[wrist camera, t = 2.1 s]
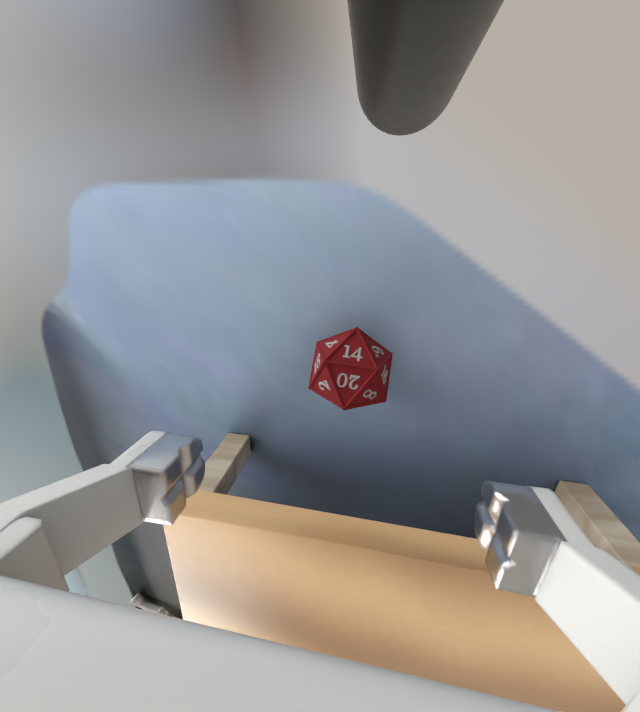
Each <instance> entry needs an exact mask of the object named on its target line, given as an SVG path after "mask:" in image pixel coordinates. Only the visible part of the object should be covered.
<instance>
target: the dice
mask: <svg viewBox="0 0 640 712" xmlns="http://www.w3.org/2000/svg"><path fill="white" fill-rule="evenodd" d="M391 361H392V353H391V352H389V351H388V350H387V349H385V348H384V347H383V346H381V345H380V344H379V343H377V342H376V341H375V340H373V339H372V338H371V337H369V336H368V335H367V334H365V333H364V332H363V331H361V330H360V329H359V328H358V327H356V328H354V329H351V330H349V331H346V332H343V333H340V334H338V335H335V336H332V337H330V338H327V339H324V340H322V341H319V342H317V344H316V350H315V355H314V361H313V366H312V372H311V377H310V383H309V387H308V388H309V389H310V390H312V391H314V392H315V393H317V394H319V395H320V396H322V397H324V398H325V399H327V400H329V401H330V402H332V403H333V404H335V405H337V406H338V407H340V408H342V409H343V410H347V409H352V408H357V407H362V406H367V405H372V404H377V403H382V402H386V398H387V390H388V383H389V375H390V368H391Z"/></svg>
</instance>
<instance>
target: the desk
mask: <svg viewBox="0 0 640 712" xmlns="http://www.w3.org/2000/svg"><path fill="white" fill-rule="evenodd" d="M250 453H251V452H250V436H249V435H242V434H235V433H228V434H227V436H226V437H225V438H224V439H223V441H222V442H221V443H220V445H219V446H218V447H217V449H216V450H215V451H214V453H213V454H212V455H211V457H210V458H209V459H208V461H207V462H206V463H205V474H204V478H203V481H202V483H201V486H200V487H199V489H198V490H197V492H196V493H195V494H193V495H192V496H190V497H188V498H186V507H185V508H184V510H183V511H182V512H181V514H180V515H179V516H178V518H177V519H176V521H175V522H174V523H173V525H166V524H163V526H164V531H165V536H166V540H167V545H168V550H169V555H170V559H171V564H172V569H173V573H174V578H175V583H176V588H177V592H178V597H179V602H180V606H181V611H182V616H183V620H187V621H191V622H195V623H199V624H203V625H207V626H212V627H216V628H220V629H224V630H228V631H232V632H237V633H241V634H245V635H249V636H253V637H257V638H261V639H266V640H270V641H274V642H278V643H282V644H286V645H290V646H295V647H299V648H303V649H307V650H311V651H315V652H320V653H324V654H328V655H332V656H336V657H340V658H344V659H348V660H352V661H357V662H361V663H365V664H369V665H373V666H377V667H381V668H385V669H390V670H394V671H398V672H402V673H406V674H410V675H414V676H418V677H423V678H427V679H431V680H435V681H439V682H443V683H447V684H451V685H455V686H460V687H464V688H468V689H472V690H476V691H480V692H484V693H488V694H493V695H497V696H501V697H505V698H509V699H513V700H517V701H521V702H526V703H530V704H534V705H538V706H542V707H546V708H550V709H554V710H559V711H563V712H621V711H622V710H623V708H624V707H625V706H626V705H625V704H624V702H623V701H622V700H621V699H620V698H619V697H618V696H617V694H616V693H615V692H614V691H613V690H612V689H611V687H610V686H609V685H608V684H607V683H606V682H605V681H604V679H603V678H602V677H601V676H600V675H599V674H598V672H597V671H596V670H595V669H594V668H593V667H592V666H591V664H590V663H589V662H588V661H587V660H586V659H585V657H584V656H583V655H582V654H581V653H580V652H579V650H578V649H577V648H576V647H575V646H574V645H573V644H572V642H571V641H570V640H569V639H568V638H567V637H566V635H565V634H564V633H563V632H562V631H561V630H560V629H559V627H558V626H557V625H556V624H555V623H554V622H553V620H552V619H551V618H550V617H549V616H548V615H547V614H546V612H545V611H544V610H543V609H542V608H541V607H540V605H539V604H538V603H537V602H536V601H535V600H534V599H535V598H534V597H530V596H526V595H521V594H517V593H512V592H508V591H503V590H499V589H495V587H494V585H493V582H492V579H491V576H490V574H489V571H488V568H487V565H486V563H485V558H486V555H487V551H486V550H485V549H484V548H483V547H482V546H481V545H480V544H479V543H478V540H477V539H475V538H469V537H464V536H458V535H452V534H447V533H441V532H435V531H430V530H424V529H418V528H413V527H407V526H401V525H396V524H390V523H384V522H379V521H373V520H367V519H362V518H356V517H350V516H345V515H339V514H333V513H328V512H322V511H316V510H311V509H305V508H299V507H294V506H288V505H282V504H277V503H271V502H265V501H260V500H254V499H248V498H243V497H237V496H231V495H227V493H228V491H229V490H230V488H231V486H232V484H233V483H234V481H235V479H236V478H237V476H238V474H239V472H240V471H241V469H242V467H243V466H244V464H245V462H246V460H247V459H248V457H249V455H250ZM554 493H555V494H556V495H557V497H558V498H559V499H560V501H561V502H562V503H563V505H564V506H565V507H566V509H567V510H568V511H569V513H570V514H571V515H572V517H573V518H574V519H575V521H576V522H577V523H578V525H579V526H580V527H581V529H582V530H583V531H584V533H585V534H586V535H587V537H588V538H589V539H590V541H591V542H592V543H593V545H594V546H595V547H598V548H603V549H604V550H606V551H607V552H609V553H610V554H612V555H613V556H614V557H616V558H617V559H619V560H620V561H621V562H623V563H624V564H626V565H627V566H629V567H630V568H631V569H633V570H634V571H636V572H637V573H638V574H640V542H639V541H638V540H637V539H636V538H635V537H634V536H633V534H632V533H631V532H630V531H629V530H628V529H627V528H626V527H625V525H624V524H623V523H622V522H621V521H620V520H619V519H618V517H617V516H616V515H615V514H614V513H613V512H612V511H611V510H610V508H609V507H608V506H607V505H606V504H605V503H604V502H603V500H602V499H601V498H600V497H599V496H598V495H597V494H596V493H595V491H594V490H593V489H592V488H591V487H590V486H589V485H588V484H582V483H575V482H568V481H561V480H560V481H559V483H558V485H557V488H556V490H555V492H554Z"/></svg>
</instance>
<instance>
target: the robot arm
mask: <svg viewBox="0 0 640 712" xmlns="http://www.w3.org/2000/svg"><path fill="white" fill-rule="evenodd" d="M202 450H203V445H202V440H201V439H199V438H197V437H191V436H185V435H180V434H174V433H167V432H161V431H151V432H148V433H147V434H146V435H145V436H144V437H142V438H141V439H140V440H139V441H137V442H136V443H135V444H134V445H133V446H131V447H130V448H129V449H128V450H126V451H125V452H124V453H123V454H122V455H120V456H119V457H118V458H117V459H115V460H114V461H113V462H112V463H110V464H109V465H108V464H102V465H100V466H97V467H95V468H92V469H89V470H87V471H84V472H81V473H79V474H76V475H74V476H71V477H68V478H66V479H63V480H60V481H58V482H55V483H53V484H50V485H47V486H45V487H42V488H40V489H37V490H34V491H31V492H29V493H26V494H24V495H21V496H18V497H16V498H13V499H10V500H8V501H5V502H3V503H0V712H563V711H559V710H554V709H550V708H546V707H542V706H538V705H534V704H530V703H526V702H521V701H517V700H513V699H509V698H505V697H501V696H497V695H493V694H488V693H484V692H480V691H476V690H472V689H468V688H464V687H460V686H455V685H451V684H447V683H443V682H439V681H435V680H431V679H427V678H423V677H418V676H414V675H410V674H406V673H402V672H398V671H394V670H390V669H385V668H381V667H377V666H373V665H369V664H365V663H361V662H357V661H352V660H348V659H344V658H340V657H336V656H332V655H328V654H324V653H320V652H315V651H311V650H307V649H303V648H299V647H295V646H290V645H286V644H282V643H278V642H274V641H270V640H266V639H261V638H257V637H253V636H249V635H245V634H241V633H237V632H232V631H228V630H224V629H220V628H216V627H212V626H207V625H203V624H199V623H195V622H191V621H187V620H183V619H179V618H174V617H170V616H166V615H162V614H158V613H154V612H150V611H146V610H141V609H137V608H133V607H129V606H125V605H121V604H116V603H112V602H108V601H104V600H100V599H96V598H92V597H88V596H84V595H80V594H76V593H71V592H69V588H68V585H67V583H66V580H65V578H64V575H65V574H67V573H68V572H70V571H71V570H73V569H74V568H76V567H77V566H79V565H80V564H82V563H83V562H85V561H86V560H88V559H89V558H91V557H92V556H94V555H95V554H97V553H98V552H100V551H101V550H103V549H104V548H106V547H107V546H109V545H110V544H112V543H113V542H115V541H116V540H118V539H119V538H121V537H122V536H124V535H125V534H127V533H128V532H130V531H131V530H133V529H134V528H136V527H137V526H139V525H140V524H142V523H143V521H147V522H153V523H160V524H166V525H173V523H174V522H175V521H176V519H177V518H178V516H179V515H180V514H181V512H182V511H183V510H184V508H185V507H186V498H188V497H190V496H192V495H193V494H195V493H196V492H197V490H198V489H199V487H200V486H201V483H202V481H203V478H204V474H205V461H204V460H203V459H202V457H201V456H200V455H199V454H200V453H201V452H202ZM480 493H481V495H482V497H483V500H482V501H481V502H480V503H478V504H477V505H476V508H475V512H474V529H475V534H476V537H477V540H478V543H479V544H480V545H481V546H482V547H483V548H484V549H485V550H486V551H487V555H486V558H485V563H486V565H487V568H488V571H489V574H490V576H491V579H492V582H493V585H494V587H495V589H499V590H503V591H508V592H512V593H517V594H521V595H526V596H530V597H534V598H535V599H534V600H535V601H536V602H537V603H538V604H539V605H540V607H541V608H542V609H543V610H544V611H545V612H546V614H547V615H548V616H549V617H550V618H551V619H552V620H553V622H554V623H555V624H556V625H557V626H558V627H559V629H560V630H561V631H562V632H563V633H564V634H565V635H566V637H567V638H568V639H569V640H570V641H571V642H572V644H573V645H574V646H575V647H576V648H577V649H578V650H579V652H580V653H581V654H582V655H583V656H584V657H585V659H586V660H587V661H588V662H589V663H590V664H591V666H592V667H593V668H594V669H595V670H596V671H597V672H598V674H599V675H600V676H601V677H602V678H603V679H604V681H605V682H606V683H607V684H608V685H609V686H610V687H611V689H612V690H613V691H614V692H615V693H616V694H617V696H618V697H619V698H620V699H621V700H622V701H623V702H624V704H625V705H626V706H625V707H624V708H623V710H622V711H621V712H640V574H638V573H637V572H636V571H634V570H633V569H631V568H630V567H629V566H627V565H626V564H624V563H623V562H621V561H620V560H619V559H617V558H616V557H614V556H613V555H612V554H610V553H609V552H607V551H606V550H604V549H603V548H598V547H595V546H594V545H593V543H592V542H591V541H590V539H589V538H588V537H587V535H586V534H585V533H584V531H583V530H582V529H581V527H580V526H579V525H578V523H577V522H576V521H575V519H574V518H573V517H572V515H571V514H570V513H569V511H568V510H567V509H566V507H565V506H564V505H563V503H562V502H561V501H560V499H559V498H558V497H557V495H556V494H555V493H554V492H553V491H552V490H550V489H548V488H540V487H532V486H521V485H514V484H507V483H500V482H493V481H485V482H484V483H483V485H482V488H481V491H480Z"/></svg>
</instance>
